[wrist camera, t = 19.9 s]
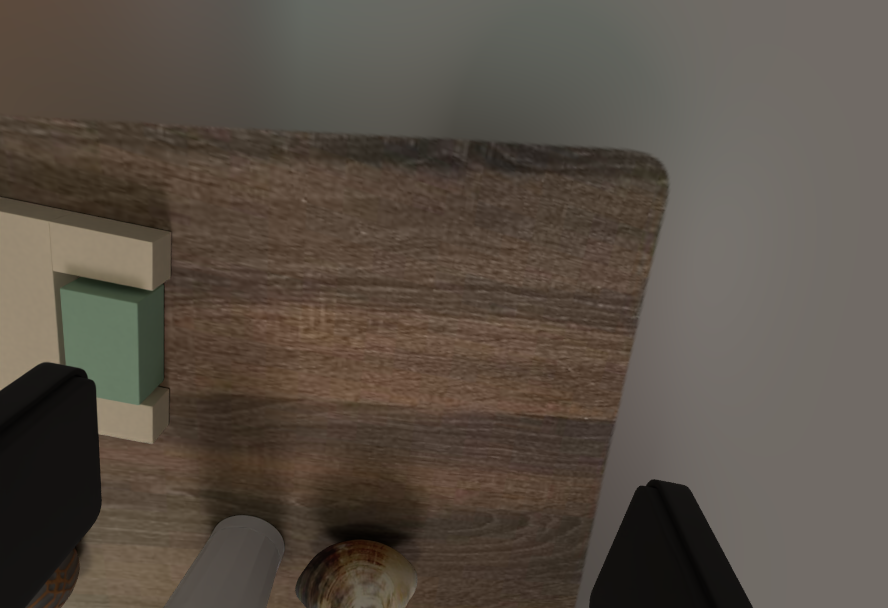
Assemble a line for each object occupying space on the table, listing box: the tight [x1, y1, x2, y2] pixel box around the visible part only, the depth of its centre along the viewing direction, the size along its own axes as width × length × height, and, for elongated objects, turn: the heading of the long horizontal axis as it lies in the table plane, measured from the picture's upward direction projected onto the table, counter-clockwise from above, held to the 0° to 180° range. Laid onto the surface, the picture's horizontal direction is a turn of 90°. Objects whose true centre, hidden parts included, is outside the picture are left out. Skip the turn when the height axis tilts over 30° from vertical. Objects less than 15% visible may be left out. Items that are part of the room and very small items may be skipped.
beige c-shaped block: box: [0, 197, 171, 444], centre depth 39 cm, size 16×12×2 cm
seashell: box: [295, 539, 417, 608], centre depth 44 cm, size 10×6×8 cm, turn 87°
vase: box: [25, 548, 80, 608], centre depth 46 cm, size 7×7×9 cm
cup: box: [164, 515, 285, 608], centre depth 43 cm, size 8×8×12 cm
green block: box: [60, 277, 164, 405], centre depth 39 cm, size 8×5×4 cm, turn 169°
